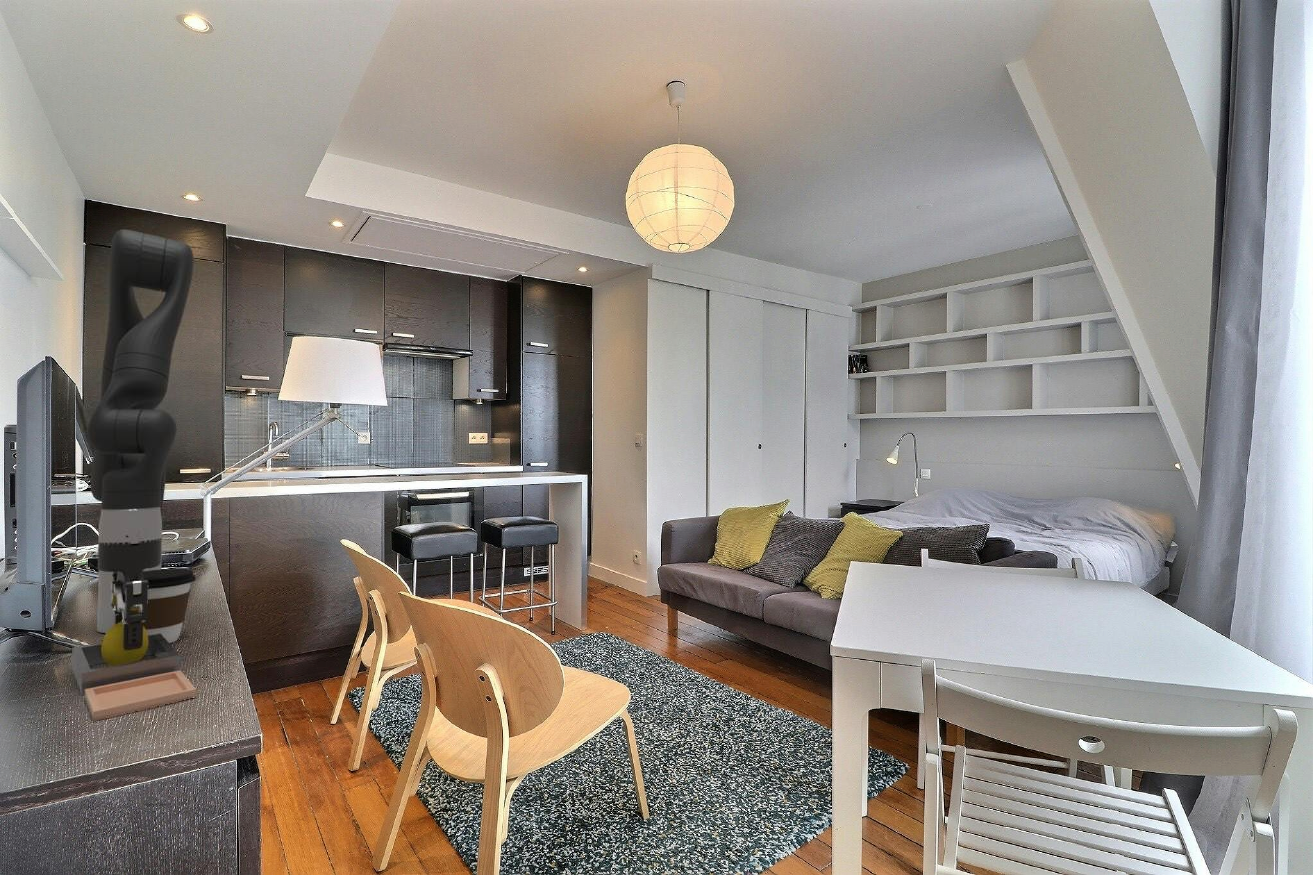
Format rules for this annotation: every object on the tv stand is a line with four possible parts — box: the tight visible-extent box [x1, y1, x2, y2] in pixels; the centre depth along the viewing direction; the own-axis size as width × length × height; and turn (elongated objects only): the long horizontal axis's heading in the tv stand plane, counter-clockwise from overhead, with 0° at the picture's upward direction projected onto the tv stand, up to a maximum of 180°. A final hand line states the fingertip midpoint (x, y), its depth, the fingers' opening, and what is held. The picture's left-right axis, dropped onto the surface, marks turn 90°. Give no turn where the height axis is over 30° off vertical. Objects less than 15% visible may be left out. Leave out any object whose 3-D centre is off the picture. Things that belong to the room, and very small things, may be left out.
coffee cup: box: [130, 568, 197, 644], centre depth 112 cm, size 11×11×12 cm
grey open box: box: [71, 633, 181, 696], centre depth 97 cm, size 16×11×3 cm
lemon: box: [101, 621, 148, 667], centre depth 97 cm, size 6×6×8 cm
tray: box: [84, 670, 197, 722], centre depth 86 cm, size 11×11×1 cm
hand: (128, 643), depth 97 cm, fingers open, 8 cm apart
